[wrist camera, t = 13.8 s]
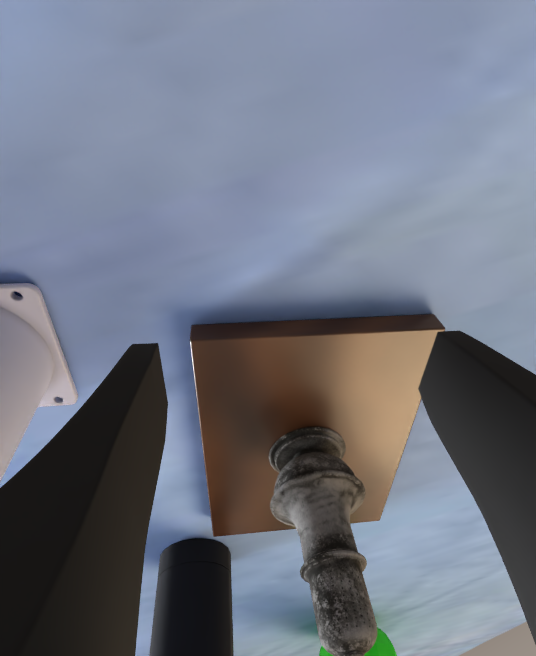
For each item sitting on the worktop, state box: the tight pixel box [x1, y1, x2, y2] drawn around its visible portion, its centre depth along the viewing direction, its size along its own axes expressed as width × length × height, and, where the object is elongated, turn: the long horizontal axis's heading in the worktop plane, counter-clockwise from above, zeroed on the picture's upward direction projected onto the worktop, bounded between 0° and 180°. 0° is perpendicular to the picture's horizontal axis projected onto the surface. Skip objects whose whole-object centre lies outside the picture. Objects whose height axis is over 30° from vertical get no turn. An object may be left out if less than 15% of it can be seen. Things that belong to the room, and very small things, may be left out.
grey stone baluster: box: [269, 427, 377, 656], centre depth 22 cm, size 6×6×12 cm
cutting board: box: [190, 314, 445, 537], centre depth 27 cm, size 14×20×2 cm
